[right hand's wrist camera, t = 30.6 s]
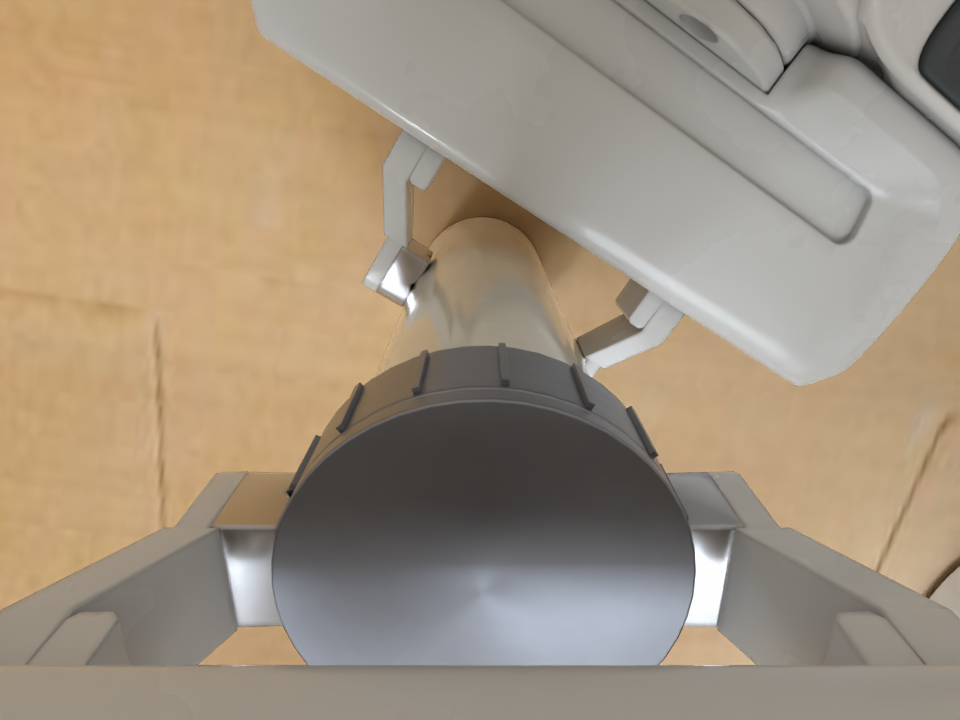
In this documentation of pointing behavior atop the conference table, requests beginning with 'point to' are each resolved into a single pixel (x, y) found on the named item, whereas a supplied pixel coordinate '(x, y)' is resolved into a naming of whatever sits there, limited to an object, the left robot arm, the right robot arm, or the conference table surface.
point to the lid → (483, 522)
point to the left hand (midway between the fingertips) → (469, 342)
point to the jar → (482, 298)
